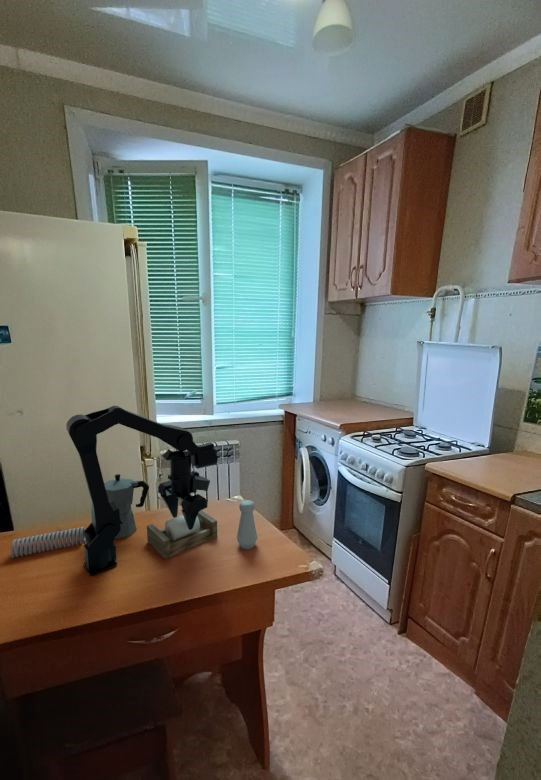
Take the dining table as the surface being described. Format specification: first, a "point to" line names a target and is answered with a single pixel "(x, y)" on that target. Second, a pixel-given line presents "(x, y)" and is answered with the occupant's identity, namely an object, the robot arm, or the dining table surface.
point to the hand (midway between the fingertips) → (182, 523)
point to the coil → (47, 541)
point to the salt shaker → (247, 525)
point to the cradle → (169, 548)
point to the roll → (179, 528)
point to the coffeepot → (125, 501)
